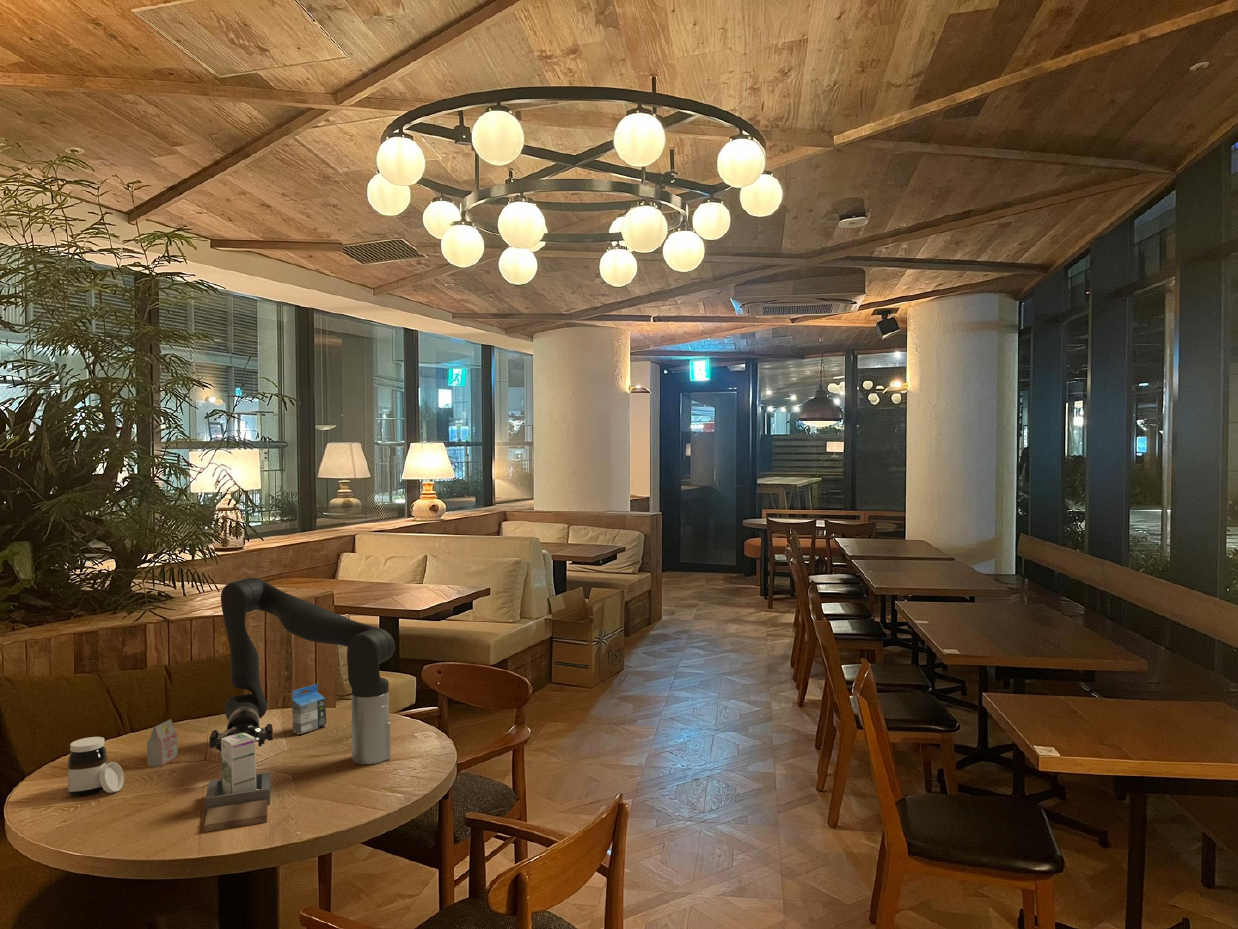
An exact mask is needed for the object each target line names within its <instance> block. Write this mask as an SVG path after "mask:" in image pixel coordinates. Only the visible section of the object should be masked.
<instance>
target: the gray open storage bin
mask: <svg viewBox="0 0 1238 929" xmlns="http://www.w3.org/2000/svg"><path fill="white" fill-rule="evenodd" d="M256 788H257V789H259V790H252V791H246V792H239V793H232V794H225V795H222V778H219V779H214V780H213V779H212V780H209V782H208V786H207V790H206V794H205V800H204V801H205V805H204V806H205V815H207V810H208V808H213V807H220V806H226V805H233V804H239V803H246V802H252V801H259V800H265V799H267V804H270V805H271V772H270V771H268V772H262V773H261V772H260V773H256Z"/></svg>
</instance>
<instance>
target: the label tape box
mask: <svg viewBox="0 0 1238 929" xmlns="http://www.w3.org/2000/svg"><path fill="white" fill-rule="evenodd" d="M318 687H319V684H318V683H314V684H312V685H311V684H310V685H309V686H304V687H300V688H297V689H294V690H292V692H291V693H292V694H291V710H292V711H291V712H292V713H291V714H292V733H293V732H295V733H300V734H303V733H305V732H307V731H309V730H314V729H317V728H320V727H322V726H325V725H326V726H327V704H326V698H325V697H324V696H323V695H322V694H321V693H319V692H318ZM305 691H308V692H305ZM303 692H304V693H303ZM320 729H321V728H320ZM317 730H318V729H317ZM314 731H315V730H314ZM303 735H304V734H303Z"/></svg>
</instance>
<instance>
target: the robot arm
mask: <svg viewBox="0 0 1238 929" xmlns="http://www.w3.org/2000/svg"><path fill="white" fill-rule="evenodd" d="M220 605H221V606H220V607H221V611H222V616H223V621H224V626H225V631H226V635H227V640H228V645H229V653H230V666H231V667H230V675H231V679H230V680H231V686H232V687H233V688H235V689H240V690H245V691H249V692H250V693H248V694H247V693H244V694H238V695H233V696H230V697H229V698H228V699H227V701H226V702H225V705H224V713H225V717H226V719H227V724H226V725H227V727H226V729H225V730H224V731H223V732H220V731H218V730H217V729H213V730H212V731H211V733H210V736H209V738H208V740H209V748H210V749H212V748H215V747H216V751H219V752H221V738H225V737H227V736H230V735H234V734H239V733H247V734H249V735H251V736H253V737H255V743H258V744H257V745H258V746H257V747H262V745H265V742H266V740H267V741H273V740H274V736H273V735H274V733H273V732H274V730H273V728H274V727H273V724H272V723H268V724H266V725H265V726H264V727H261V726H260V719H262V718H263V717H264V716H265V714H266V713H267V709H268V705H267V699H266V697H265V695H264V692H263V690H262V686H261V681H260V665H259V664H260V663H259V662H260V661H259V654H258V651H257V648H256V647H255V646H256V645H254V642H253V640H251V638H250V635H249V634H248V632H247V631H248V630H247V628H246V617H247V616H246V614H247V613H251V612H254V611H260V612H262V611H263V612H265V613H268V614H270V615H273V616H275V617H277V618H278V620H279V622H280V623H281V625H282V626H283V628H284V629H285V630H286V631H287V632H289V633H290V634H291V635H295V636H297V637H299V638H301V639H304V640H306V641H310V642H313V643H314V642H315V643H320V644H327V645H328V644H329V645H335V646H336V645H337V646H342V647H347V648H346V664H347V679H348V683H349V686H350V688H351V735H352V737H351V744H352V745H351V746H352V749H351V750H352V751H351V756H352V757H351V758H352V762H353V763H354V764H357V765H373V764H379V763H382V762H384V761H388V760H391V759H392V758H391V752H392V751H391V721H390V703H389V702H390V700H389V699H390V697H389V696H390V692H389V691H390V689H389V688H390V686H389V685H390V684H389V683H390V682H389V680H388V679H387V678H386V677H385V678H384V677H381V675H380V664H382V663H385V662H386V661H388V660H389V659H390V658H392V656H393V655H394V654H395V650H396V643H395V640H394V637H393V636H392V635H391V633H389V632H388V631H387V630H386V629H383V628H380V627H377V626H373V625H370V624H367V623H361V622H359V621H357V620H356V621H355V620H353V619H350V618H348V617H346V616H343V615H341V614H338V613H336V612H334V611H331V610H329V609H327V608H324V607H323V606H320V605H317V604H315V603H313V602H310V601H308V600H304V599H302V598H299V597H297V596H294V595H292V594H289V593H287V592H284V591H283V590H281V589H279V588H277V587H276V586H274V585H271V584H270V583H268V582H267V581H264V580H262V579H260V578H258V577H246V578H242V579H240V580H236V581H232V582H229V583H227V584H226V585H224V587H223V588H222V590H221V593H220Z"/></svg>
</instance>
